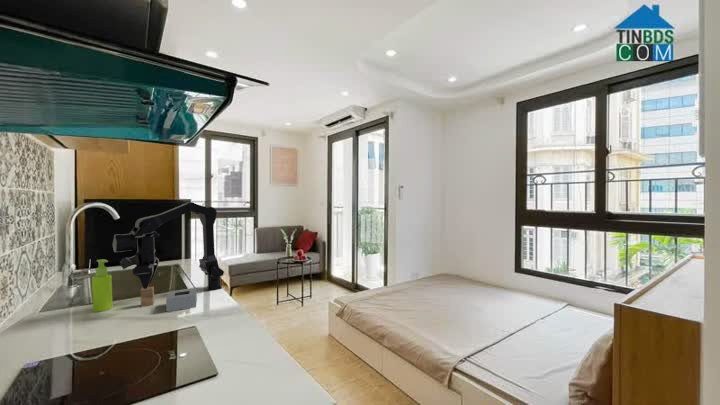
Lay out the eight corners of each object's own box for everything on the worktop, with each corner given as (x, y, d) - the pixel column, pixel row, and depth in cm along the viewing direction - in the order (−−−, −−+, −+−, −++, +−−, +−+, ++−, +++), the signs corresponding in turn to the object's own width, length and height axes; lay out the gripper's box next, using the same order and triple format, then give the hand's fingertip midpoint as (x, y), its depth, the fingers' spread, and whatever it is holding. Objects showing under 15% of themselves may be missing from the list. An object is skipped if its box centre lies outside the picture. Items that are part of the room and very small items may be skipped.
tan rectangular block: (142, 304, 122) (142, 287, 122) (154, 302, 124) (153, 286, 123) (141, 306, 119) (140, 289, 119) (152, 305, 121) (152, 288, 121)
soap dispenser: (97, 313, 113) (95, 262, 112) (90, 310, 116) (88, 260, 116) (116, 308, 118) (114, 259, 117) (108, 305, 121) (107, 257, 121)
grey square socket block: (169, 303, 122) (169, 291, 122) (196, 299, 127) (196, 288, 127) (166, 311, 113) (166, 299, 113) (196, 307, 118) (195, 294, 118)
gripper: (127, 246, 125) (128, 282, 126) (114, 254, 109) (116, 295, 109) (158, 244, 131) (159, 279, 131) (151, 251, 114) (152, 291, 114)
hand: (147, 285), depth 121 cm, fingers open, 9 cm apart
